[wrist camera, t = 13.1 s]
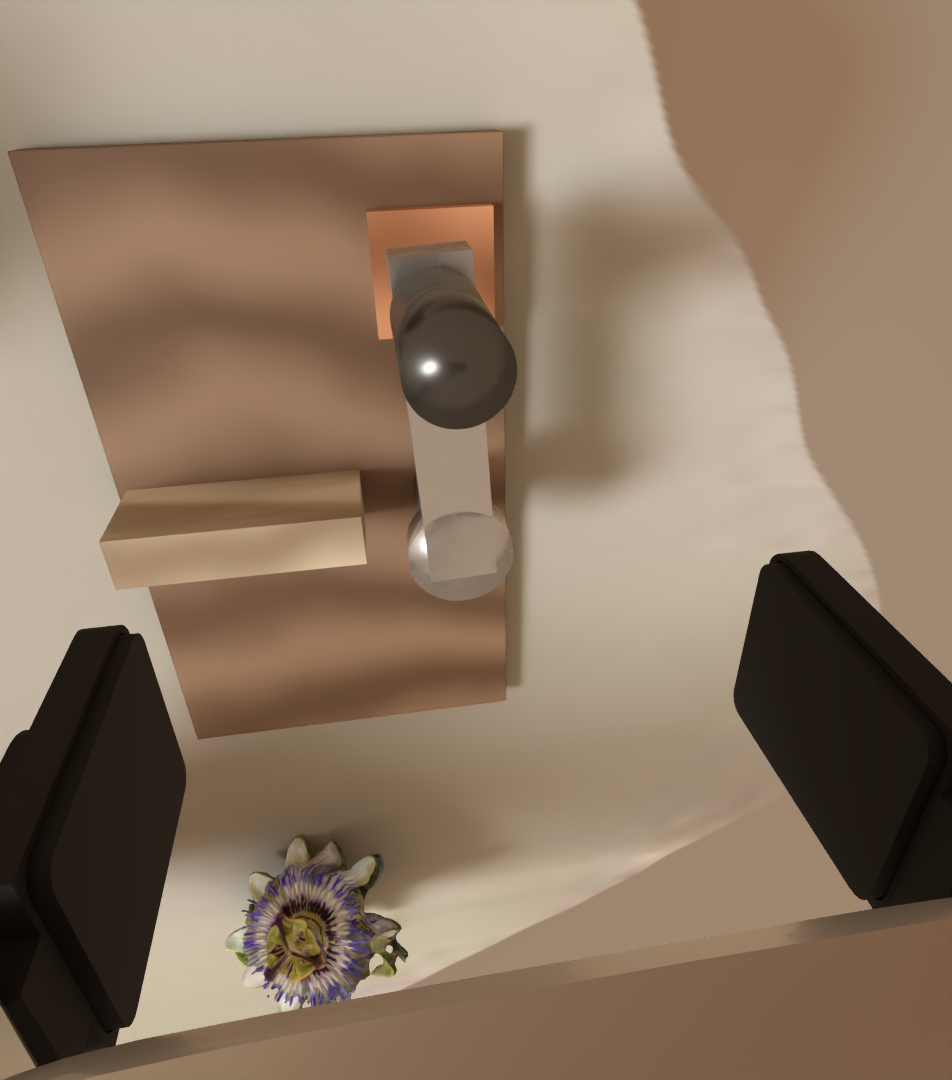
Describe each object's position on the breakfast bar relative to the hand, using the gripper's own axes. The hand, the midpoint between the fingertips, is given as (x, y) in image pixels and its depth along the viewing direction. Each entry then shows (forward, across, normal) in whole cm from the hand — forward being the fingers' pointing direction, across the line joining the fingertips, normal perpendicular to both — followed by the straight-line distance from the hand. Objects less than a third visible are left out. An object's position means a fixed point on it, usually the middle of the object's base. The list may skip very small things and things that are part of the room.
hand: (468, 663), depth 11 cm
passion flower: (+25, +8, +40) cm, 48 cm away
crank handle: (+18, -2, +4) cm, 19 cm away
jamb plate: (+25, +4, +9) cm, 27 cm away
